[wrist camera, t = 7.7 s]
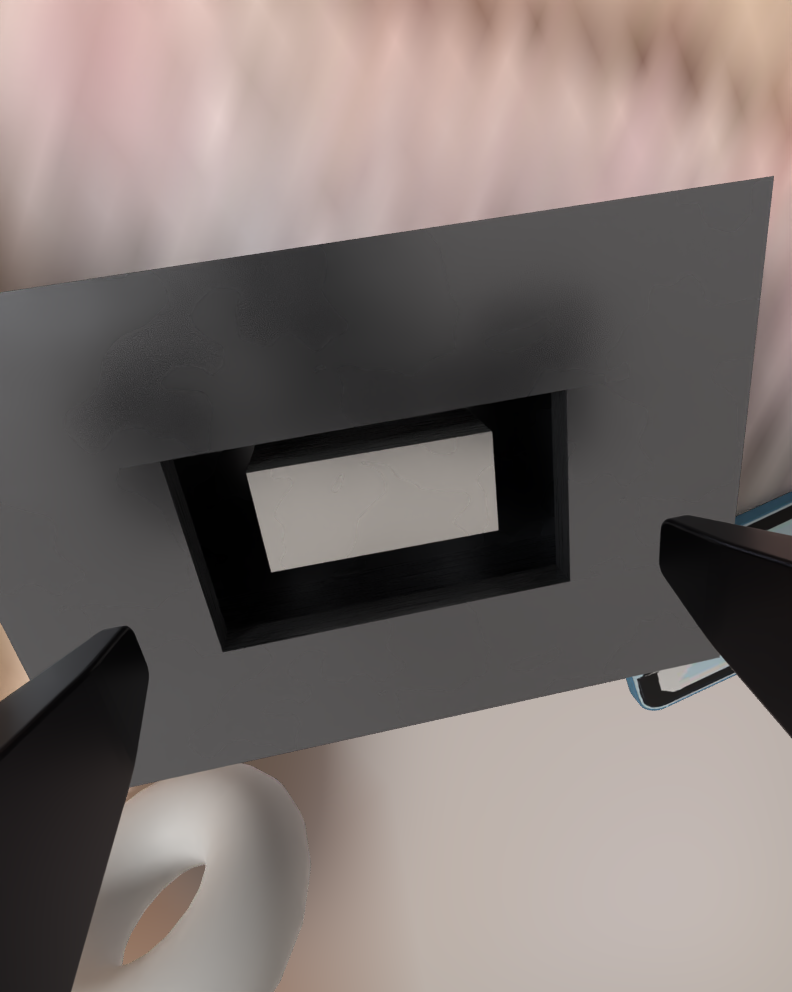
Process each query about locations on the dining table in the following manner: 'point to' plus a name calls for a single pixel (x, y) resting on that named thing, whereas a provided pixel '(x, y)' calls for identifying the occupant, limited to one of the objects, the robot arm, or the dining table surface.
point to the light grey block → (374, 488)
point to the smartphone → (684, 681)
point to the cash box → (368, 400)
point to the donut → (203, 886)
